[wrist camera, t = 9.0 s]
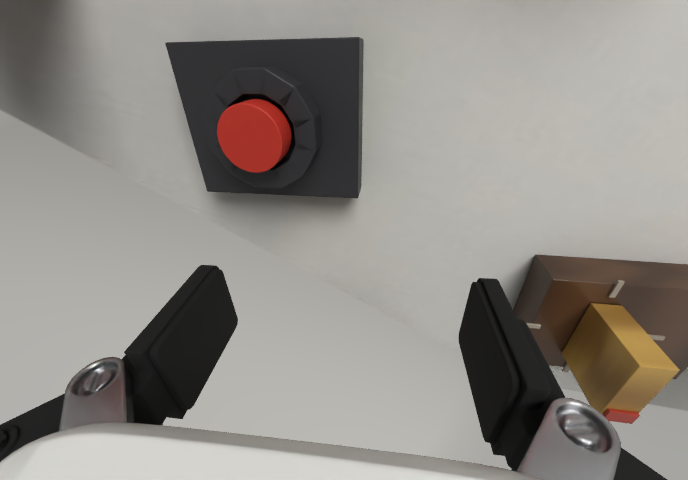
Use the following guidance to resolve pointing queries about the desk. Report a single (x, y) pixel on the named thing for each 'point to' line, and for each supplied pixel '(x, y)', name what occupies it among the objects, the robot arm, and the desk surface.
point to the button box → (287, 95)
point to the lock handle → (616, 362)
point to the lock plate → (605, 301)
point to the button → (254, 135)
